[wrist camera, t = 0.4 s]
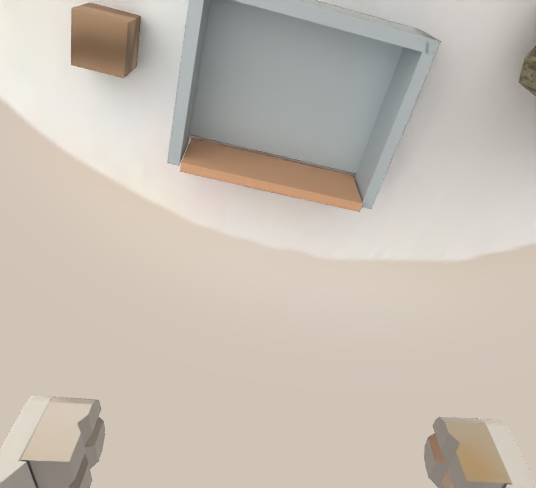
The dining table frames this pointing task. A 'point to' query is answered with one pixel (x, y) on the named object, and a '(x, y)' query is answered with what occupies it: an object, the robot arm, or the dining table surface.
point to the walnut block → (104, 39)
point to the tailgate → (271, 174)
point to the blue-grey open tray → (300, 83)
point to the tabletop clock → (529, 72)
